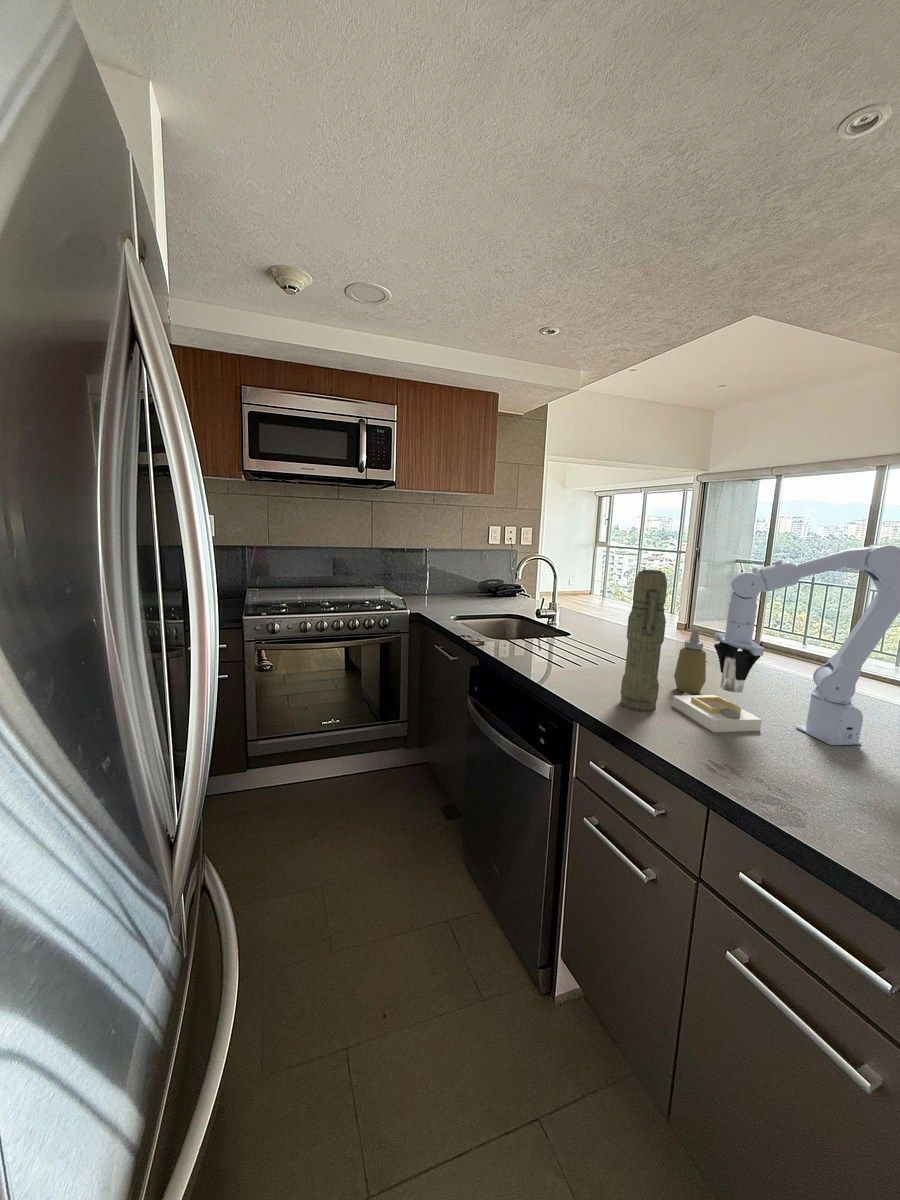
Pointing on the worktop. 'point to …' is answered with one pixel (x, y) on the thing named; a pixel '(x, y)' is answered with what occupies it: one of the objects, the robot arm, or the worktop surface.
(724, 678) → the spout can
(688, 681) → the squeeze bottle
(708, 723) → the white holder tray
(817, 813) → the worktop surface
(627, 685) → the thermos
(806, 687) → the worktop surface
